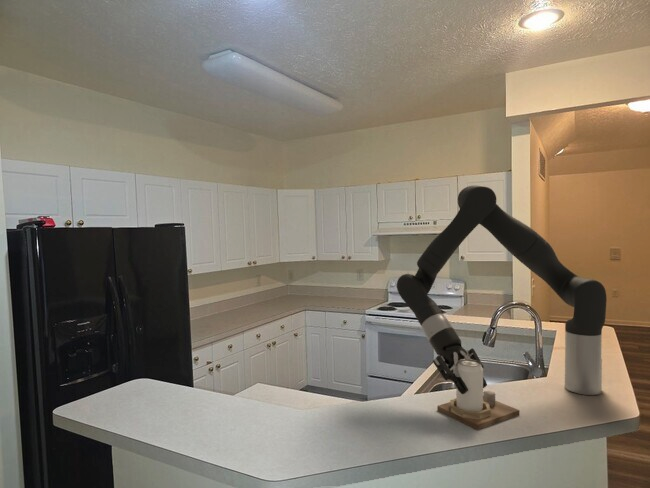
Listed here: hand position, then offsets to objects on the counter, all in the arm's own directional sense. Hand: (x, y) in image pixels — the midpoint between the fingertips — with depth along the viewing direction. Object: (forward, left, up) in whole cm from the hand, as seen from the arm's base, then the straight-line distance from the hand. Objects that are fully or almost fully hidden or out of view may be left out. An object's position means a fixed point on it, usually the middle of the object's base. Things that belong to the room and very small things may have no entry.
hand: (474, 389), depth 108 cm
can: (0, -2, -6) cm, 6 cm away
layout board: (-3, -2, -7) cm, 8 cm away
